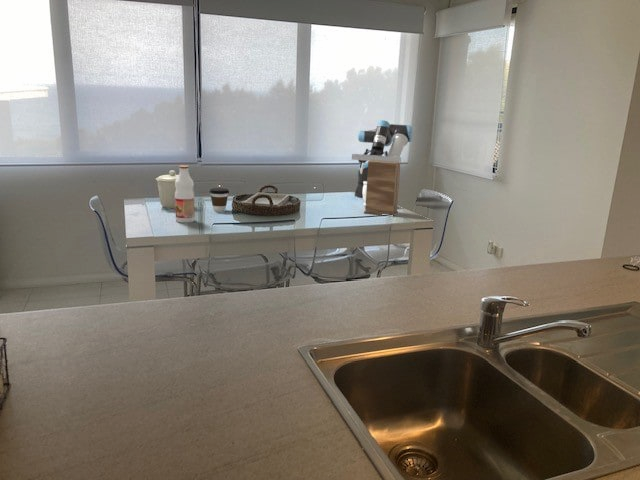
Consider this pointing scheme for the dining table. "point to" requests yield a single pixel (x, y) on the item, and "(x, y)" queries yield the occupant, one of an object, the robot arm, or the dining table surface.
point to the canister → (167, 189)
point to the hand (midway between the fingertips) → (371, 174)
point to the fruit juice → (184, 196)
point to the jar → (364, 192)
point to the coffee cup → (219, 198)
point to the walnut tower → (382, 188)
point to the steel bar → (376, 158)
